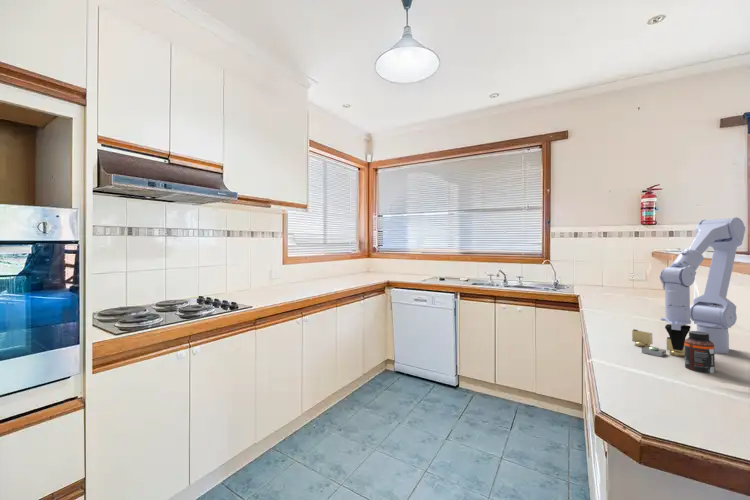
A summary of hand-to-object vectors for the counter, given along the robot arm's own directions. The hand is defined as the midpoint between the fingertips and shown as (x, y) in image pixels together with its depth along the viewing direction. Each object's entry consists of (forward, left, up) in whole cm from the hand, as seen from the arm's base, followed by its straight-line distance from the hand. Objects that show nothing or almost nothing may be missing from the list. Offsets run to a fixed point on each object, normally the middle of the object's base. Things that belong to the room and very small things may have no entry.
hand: (678, 349), depth 104 cm
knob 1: (-3, -10, -2) cm, 11 cm away
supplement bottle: (+11, +7, -3) cm, 13 cm away
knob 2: (0, 0, -2) cm, 2 cm away
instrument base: (+1, -5, -3) cm, 6 cm away
